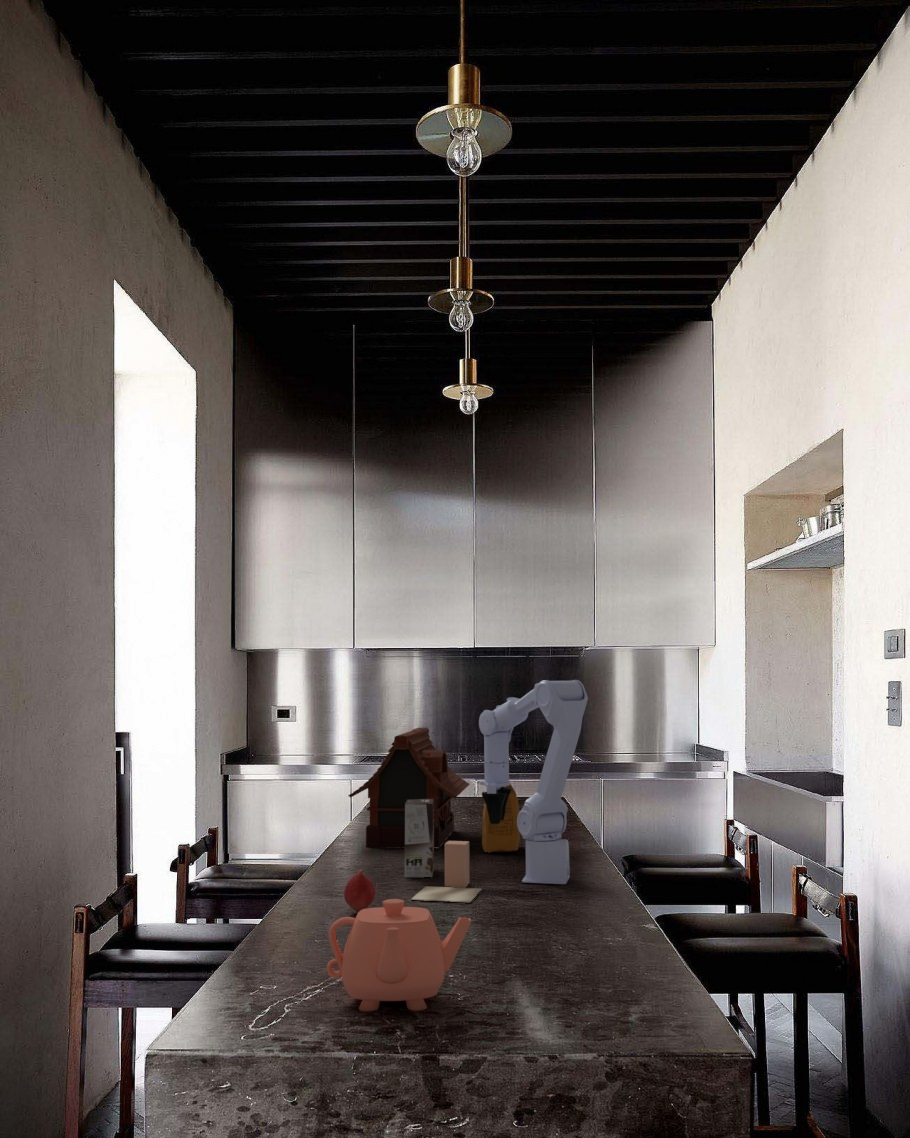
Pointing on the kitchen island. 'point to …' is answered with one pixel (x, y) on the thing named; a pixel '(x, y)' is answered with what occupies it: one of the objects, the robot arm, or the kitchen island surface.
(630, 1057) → the kitchen island surface
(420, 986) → the teapot
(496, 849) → the coffee package
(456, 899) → the birch board
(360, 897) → the onion
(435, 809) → the house
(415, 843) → the coffee box
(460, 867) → the tall block
